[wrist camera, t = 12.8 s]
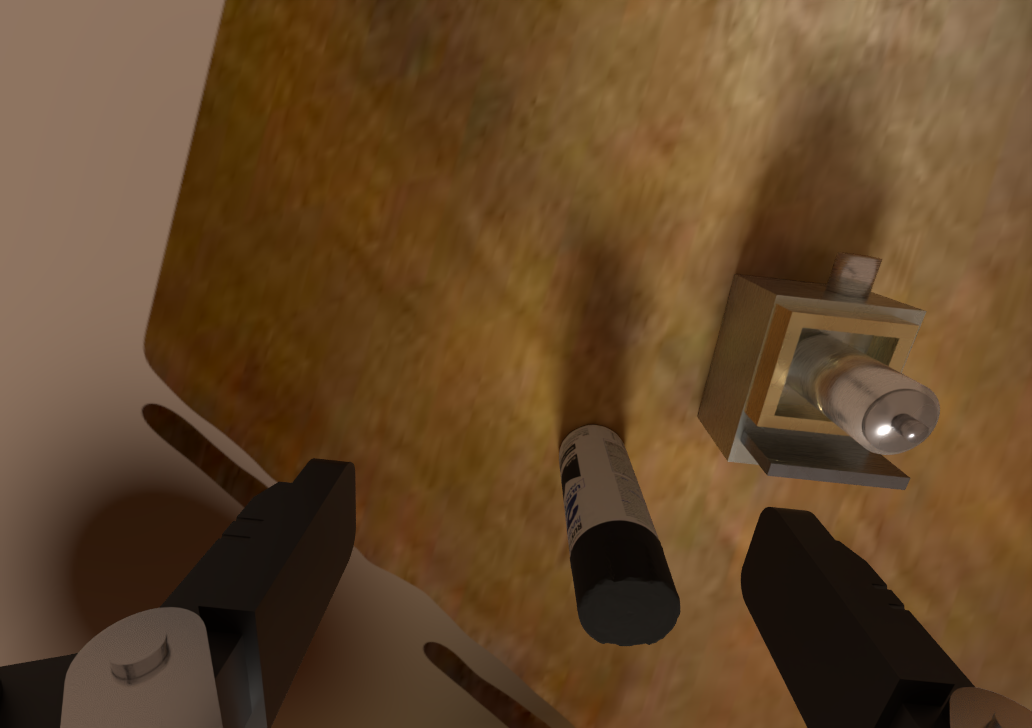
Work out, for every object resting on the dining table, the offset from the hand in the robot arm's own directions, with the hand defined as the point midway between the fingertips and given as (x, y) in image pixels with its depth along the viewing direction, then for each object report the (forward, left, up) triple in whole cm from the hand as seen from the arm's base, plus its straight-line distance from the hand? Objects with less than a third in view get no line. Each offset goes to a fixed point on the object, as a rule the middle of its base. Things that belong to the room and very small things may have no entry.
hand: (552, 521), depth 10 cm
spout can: (+5, +22, -28) cm, 36 cm away
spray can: (+19, +8, -36) cm, 42 cm away
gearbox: (+6, +23, -36) cm, 43 cm away
